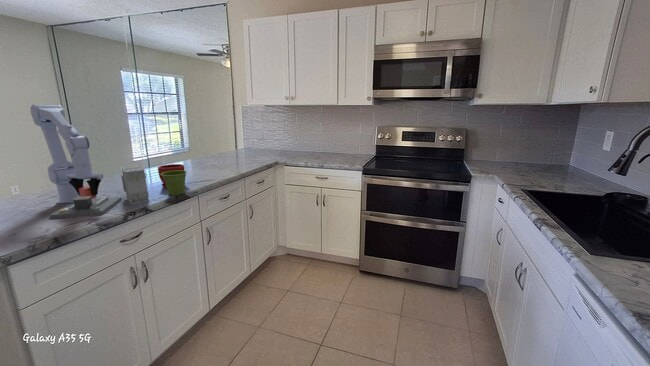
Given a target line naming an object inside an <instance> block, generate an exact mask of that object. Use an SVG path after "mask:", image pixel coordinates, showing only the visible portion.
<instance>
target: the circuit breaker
mask: <svg viewBox="0 0 650 366" xmlns="http://www.w3.org/2000/svg"><path fill="white" fill-rule="evenodd" d="M121 173H122V175H121V181H122V187H123V191H124V193H125V194H126V201H128V202H129V203H130V204H133V205H134V204H137V203H143V202H147V201H150V196H149V195H150V194H149V190H148V184H147V176H146V172H145V169H144V168H142V167H131V168H124V169H121Z"/></svg>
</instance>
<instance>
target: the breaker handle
mask: <svg viewBox="0 0 650 366" xmlns="http://www.w3.org/2000/svg"><path fill="white" fill-rule="evenodd" d="M73 201H74V205H75V209H85V208H90V206H92V205H93V204H92V199H91V196H82V197H76V198H74V199H73Z"/></svg>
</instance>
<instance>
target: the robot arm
mask: <svg viewBox="0 0 650 366" xmlns="http://www.w3.org/2000/svg"><path fill="white" fill-rule="evenodd" d="M30 114H31V117H32V121H33V123H34V125H35V126H38V127H40V128H41V131H42V134H43V136H44V139H45V142H46V145H47V147H48V150H49V154H50V155H51V159H52V162H53V163H52V164H51V165H49V166H48V168H47V172H48V179H49V181H50V182H51V183H52V184H54V185H55V186H56V190H57V194H58V197H59V200H58V201H56V202H55V204H70V203H72V202H74V201H73V199H74V198H76V197H80V193H79V189H78V188H82V187H84V180H86V182H87V184H88V186H90V189H91V193H92V195H93V196H95V195H96V196H97V195H98V194H99V187H100V183H101V181H102V179H104V174H103V173H94V172H93V170H92V165H91V160H90V155H89V150H88V149H89V148H90V145H91V144H90V141H89V139H88V137H87V136H86V135H85V134H84V135H83V134H81V133H80V132H79V131H78V130H77V129H76V127H74V125H72V124H70V123H68V122H67V119H66V118H65V115H66V114H65V109H64V108H63V106H61V105H60V104H31V106H30ZM57 128H58V129H57ZM60 136H61V138H63V140H64V142H65V146H66V149H67V151H68V154H69V155H70V156H71V161H72V162H71V161H69V160H68V159H67V155H66V152H65V149H64V147H63V144H62V141H61V138H60Z"/></svg>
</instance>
